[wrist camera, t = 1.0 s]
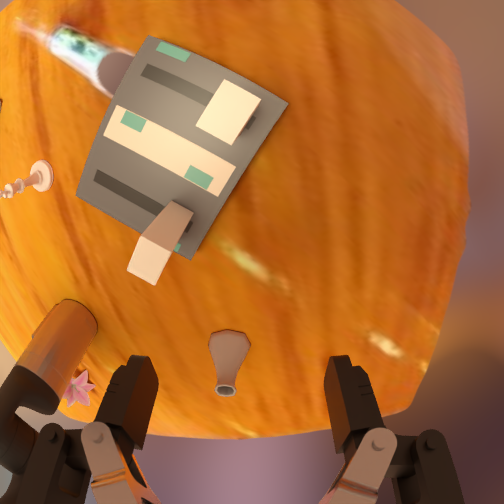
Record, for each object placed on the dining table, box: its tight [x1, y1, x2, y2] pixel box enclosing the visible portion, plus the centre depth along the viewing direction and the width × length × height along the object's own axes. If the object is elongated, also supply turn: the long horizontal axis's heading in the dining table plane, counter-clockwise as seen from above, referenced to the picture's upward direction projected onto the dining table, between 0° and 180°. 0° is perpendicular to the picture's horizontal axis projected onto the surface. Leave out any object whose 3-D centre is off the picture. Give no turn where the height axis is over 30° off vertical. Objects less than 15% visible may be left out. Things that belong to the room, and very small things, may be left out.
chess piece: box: [0, 160, 53, 198], centre depth 27 cm, size 5×5×10 cm
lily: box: [62, 370, 96, 407], centre depth 51 cm, size 11×11×9 cm
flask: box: [208, 330, 251, 397], centre depth 41 cm, size 7×7×10 cm
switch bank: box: [76, 35, 289, 260], centre depth 30 cm, size 18×22×3 cm
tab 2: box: [196, 79, 261, 145], centre depth 22 cm, size 3×4×10 cm
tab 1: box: [127, 200, 193, 286], centre depth 28 cm, size 3×4×10 cm
